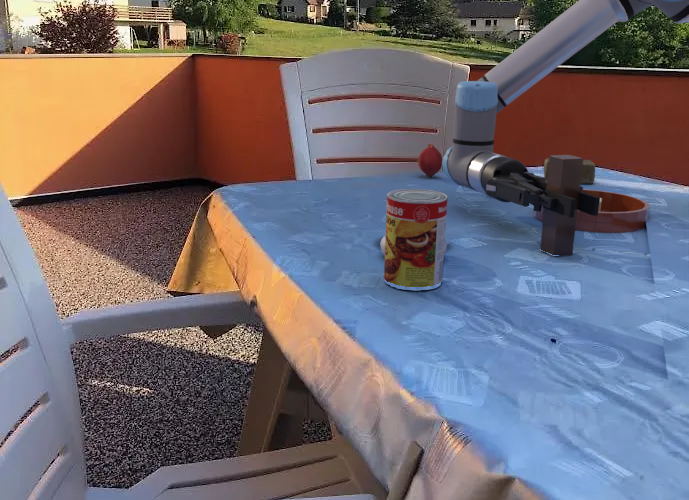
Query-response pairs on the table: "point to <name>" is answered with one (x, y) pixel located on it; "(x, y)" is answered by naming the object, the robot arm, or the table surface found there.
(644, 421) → the table surface
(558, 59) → the robot arm
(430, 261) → the canned food
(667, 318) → the table surface
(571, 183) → the stick
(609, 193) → the bowl
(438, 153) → the onion
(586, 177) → the stone block
